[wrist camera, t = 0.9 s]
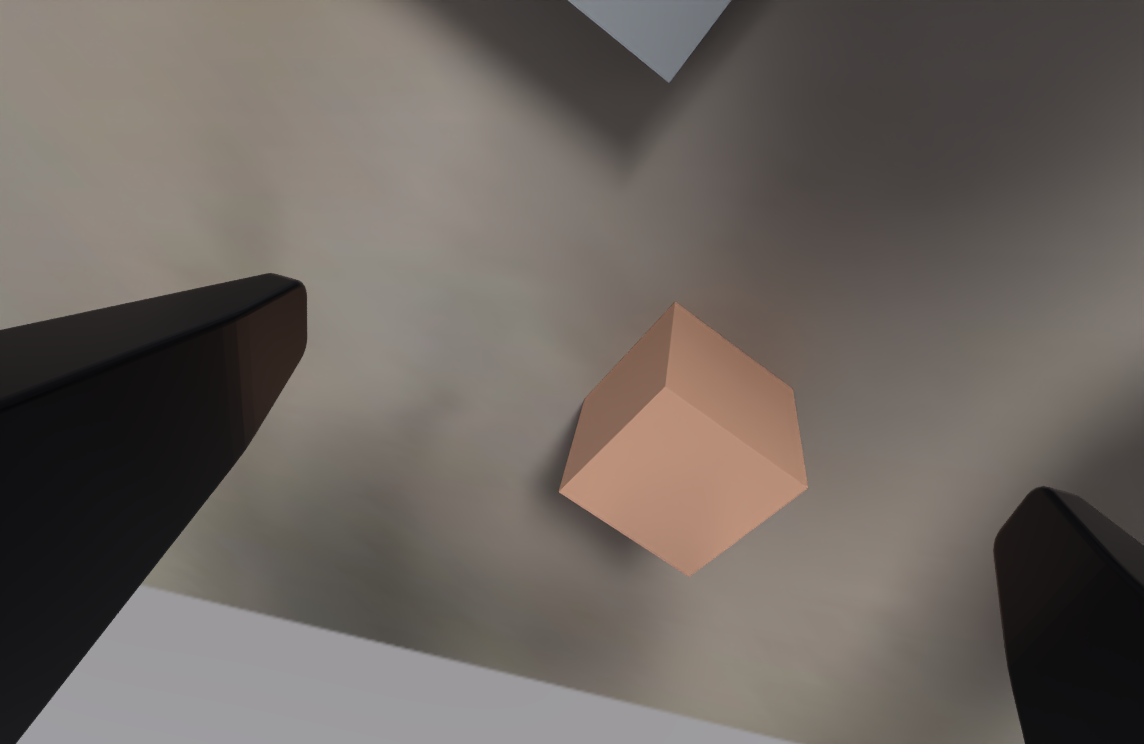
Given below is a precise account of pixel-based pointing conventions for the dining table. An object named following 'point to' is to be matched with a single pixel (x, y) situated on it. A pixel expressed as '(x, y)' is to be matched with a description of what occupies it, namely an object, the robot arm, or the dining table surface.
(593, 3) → the slate base
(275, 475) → the dining table surface
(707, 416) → the terracotta cube
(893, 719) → the dining table surface
